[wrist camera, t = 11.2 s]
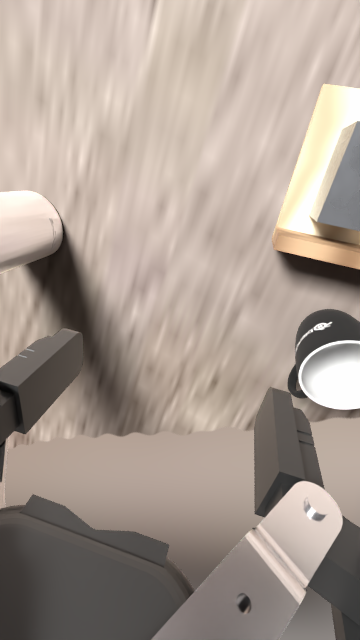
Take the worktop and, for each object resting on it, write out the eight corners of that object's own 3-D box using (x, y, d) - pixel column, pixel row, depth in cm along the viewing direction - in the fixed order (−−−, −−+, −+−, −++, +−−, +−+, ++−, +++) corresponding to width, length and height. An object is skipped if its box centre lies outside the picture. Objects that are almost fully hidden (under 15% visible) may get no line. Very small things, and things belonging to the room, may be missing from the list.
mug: (323, 286, 35) (344, 323, 26) (380, 325, 35) (419, 375, 27) (261, 348, 41) (262, 395, 32) (311, 381, 41) (324, 436, 33)
